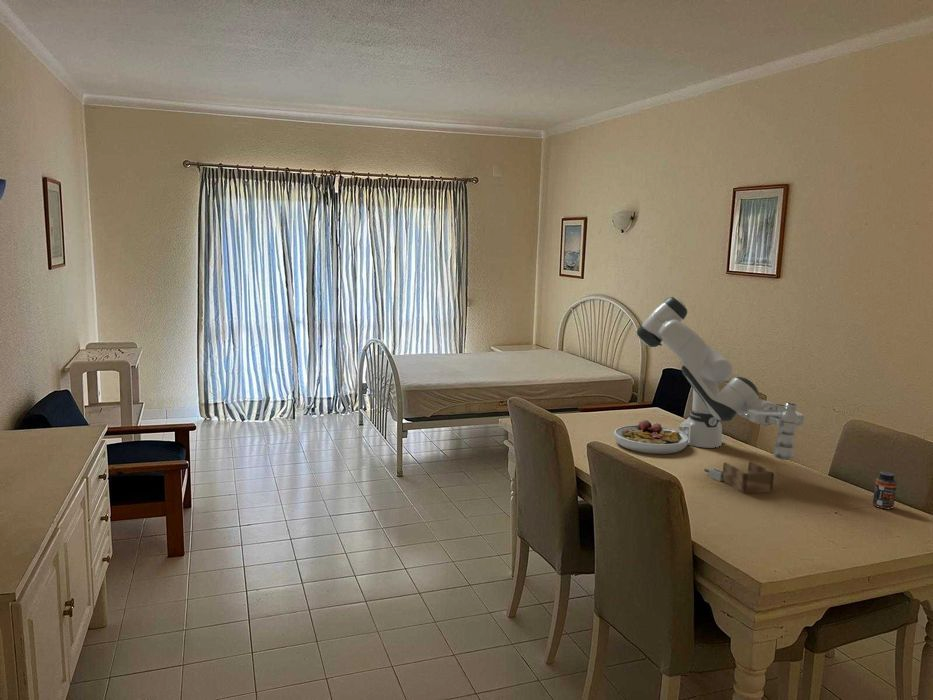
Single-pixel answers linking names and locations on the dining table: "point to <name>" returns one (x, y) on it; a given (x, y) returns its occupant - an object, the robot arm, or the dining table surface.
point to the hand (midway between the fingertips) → (790, 423)
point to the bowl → (650, 438)
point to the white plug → (715, 474)
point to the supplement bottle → (884, 490)
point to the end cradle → (748, 478)
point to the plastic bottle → (786, 433)
